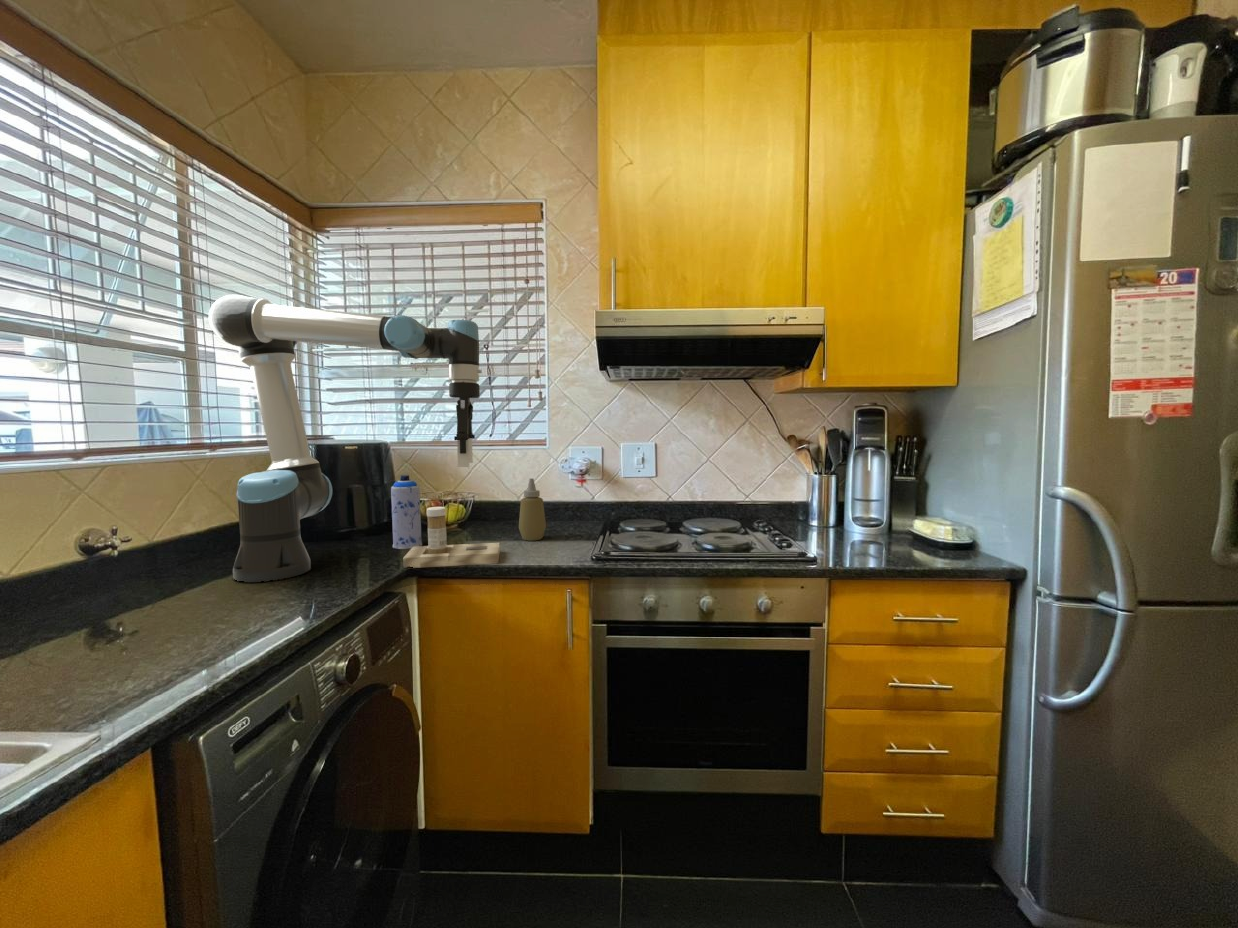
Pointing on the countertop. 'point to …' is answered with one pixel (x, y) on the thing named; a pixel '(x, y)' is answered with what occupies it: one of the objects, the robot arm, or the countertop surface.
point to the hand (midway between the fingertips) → (465, 464)
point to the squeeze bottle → (532, 514)
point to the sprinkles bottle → (437, 530)
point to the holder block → (453, 555)
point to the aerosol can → (406, 513)
